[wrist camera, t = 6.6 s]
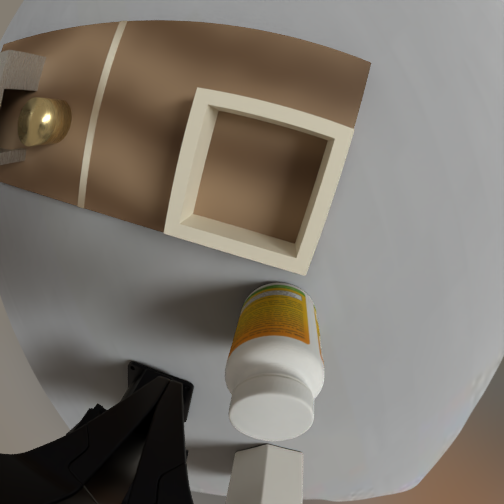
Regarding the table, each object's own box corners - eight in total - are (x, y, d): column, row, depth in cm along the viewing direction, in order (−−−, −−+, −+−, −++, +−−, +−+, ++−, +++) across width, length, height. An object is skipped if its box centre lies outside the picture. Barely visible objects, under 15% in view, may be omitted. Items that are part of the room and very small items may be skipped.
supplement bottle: (226, 307, 21) (189, 407, 12) (285, 265, 19) (283, 362, 10) (272, 353, 22) (261, 457, 13) (330, 319, 20) (349, 424, 11)
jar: (230, 441, 27) (210, 532, 16) (304, 442, 26) (302, 537, 15) (241, 473, 30) (227, 547, 19) (302, 474, 29) (299, 550, 18)
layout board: (304, 267, 19) (305, 275, 18) (-13, 173, 20) (-22, 175, 19) (366, 67, 14) (371, 62, 13) (11, 45, 15) (2, 44, 14)
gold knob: (66, 146, 17) (41, 148, 14) (39, 141, 17) (14, 144, 14) (76, 100, 16) (50, 97, 13) (47, 99, 16) (22, 97, 13)
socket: (303, 259, 18) (305, 276, 16) (178, 222, 18) (163, 233, 16) (344, 132, 15) (354, 129, 13) (209, 95, 15) (197, 87, 13)
